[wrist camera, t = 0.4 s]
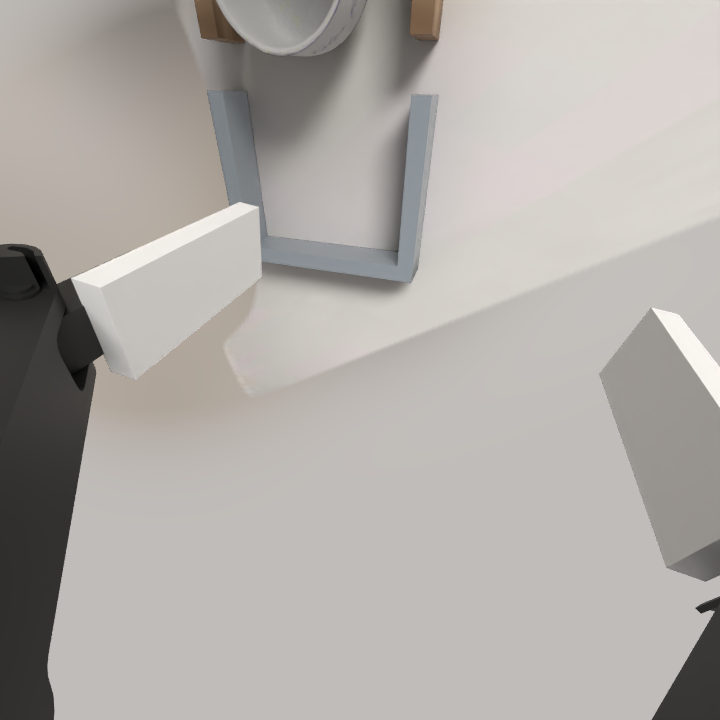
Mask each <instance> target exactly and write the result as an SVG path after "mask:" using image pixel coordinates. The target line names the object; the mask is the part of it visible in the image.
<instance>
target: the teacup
mask: <svg viewBox="0 0 720 720" xmlns="http://www.w3.org/2000/svg"><path fill="white" fill-rule="evenodd" d="M366 1H367V0H216V2H217V4H218V6H219V8H220V9H221V11H222V13H223V15H224V16H225V18H226V20H227V21H228V22H229V24H230V25H231V26H232V27H233V28H234V30H235V31H236V32H237V33H238V34H239V35H240V36H241V37H242V38H243V39H244V40H246V41H247V42H248V43H249V44H250V45H252V46H253V47H255V48H257V49H258V50H260V51H262V52H264V53H267V54H271V55H276V56H289V55H292V56H317V55H321V54H324V53H327V52H329V51H331V50H333V49H334V48H336V47H337V46H338V45H340V44H341V43H342V42H343V41H344V40H345V39H346V38H347V37H348V36H349V35H350V33H351V32H352V31H353V29H354V28H355V26H356V24H357V23H358V21H359V19H360V17H361V15H362V12H363V10H364V7H365V4H366Z"/></svg>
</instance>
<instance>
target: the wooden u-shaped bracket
mask: <svg viewBox="0 0 720 720" xmlns="http://www.w3.org/2000/svg"><path fill="white" fill-rule="evenodd" d="M194 1H195V7H196V12H197V17H198V22H199V27H200V33H201V38H204V39H210V40H215V41H221V42H226V43H244V39H243V38H242V37H241V36H240V35H239V34H238V33H237V32H236V31H235V30H234V28H233V27H232V26H231V25H230V24H229V22H228V21H227V20H226V18H225V16H224V15H223V13H222V11H221V9H220V8H219V6H218V4H217V2H216V0H194ZM442 6H443V0H412V7H411V20H410V35H411V36H413V37H414V38H416V39H418V40H439V33H440V24H441V15H442Z"/></svg>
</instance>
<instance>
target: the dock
mask: <svg viewBox="0 0 720 720" xmlns="http://www.w3.org/2000/svg"><path fill="white" fill-rule="evenodd" d="M207 94H208V99H209V104H210V109H211V114H212V119H213V124H214V129H215V134H216V139H217V144H218V149H219V154H220V159H221V164H222V170H223V174H224V179H225V185H226V189H227V195H228V200H229V205H230V206H232V205H234V204H236V203H239V202H242V203H245V204H249V205H253V206H257V207H259V219H260V242H261V262H267V263H274V264H281V265H288V266H295V267H302V268H309V269H316V270H323V271H330V272H337V273H344V274H351V275H358V276H365V277H372V278H379V279H386V280H393V281H400V282H407V283H411V282H412V280H413V278H414V276H415V273H416V271H417V269H418V262H419V254H420V246H421V237H422V229H423V220H424V212H425V204H426V195H427V187H428V179H429V170H430V162H431V153H432V145H433V137H434V128H435V120H436V112H437V103H438V95H411V105H410V117H409V130H408V142H407V154H406V166H405V178H404V191H403V203H402V215H401V227H400V239H399V252H395V251H387V250H379V249H371V248H363V247H355V246H346V245H338V244H330V243H322V242H314V241H306V240H298V239H290V238H282V237H274V236H267V229H266V222H265V215H264V209H263V202H262V195H261V188H260V181H259V174H258V167H257V160H256V153H255V146H254V139H253V132H252V125H251V118H250V111H249V104H248V97H247V91H207Z"/></svg>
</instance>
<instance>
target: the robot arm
mask: <svg viewBox="0 0 720 720" xmlns="http://www.w3.org/2000/svg"><path fill="white" fill-rule="evenodd" d="M260 278H262V264H261V242H260V219H259V207H257V206H253V205H249V204H245V203H242V202H239V203H236V204H234V205H232V206H230V207H228V208H226V209H223V210H221V211H219V212H216V213H214V214H212V215H210V216H208V217H205V218H203V219H201V220H199V221H197V222H194V223H192V224H190V225H188V226H186V227H184V228H181V229H179V230H177V231H174V232H172V233H170V234H168V235H166V236H163V237H161V238H159V239H157V240H155V241H152V242H150V243H148V244H146V245H144V246H141V247H139V248H137V249H135V250H132V251H129V252H127V253H125V254H123V255H120V256H118V257H116V258H115V259H112V260H109V261H107V262H105V263H103V264H102V265H98V266H96V267H94V268H92V269H90V270H87V271H85V272H83V273H80V274H79V275H76V276H74V277H72V278H70V279H67V280H65V281H63V282H61V283H58V284H56V282H55V280H54V278H53V276H52V273H51V271H50V269H49V267H48V264H47V262H46V260H45V258H44V256H43V254H42V252H41V250H39V249H38V248H36V247H34V246H29V245H24V244H3V245H0V720H54V698H53V692H52V689H51V685H50V682H49V678H48V671H47V663H48V654H49V647H50V642H51V636H52V630H53V624H54V619H55V613H56V607H57V601H58V595H59V589H60V583H61V577H62V572H63V565H64V560H65V554H66V548H67V542H68V536H69V530H70V525H71V519H72V513H73V507H74V501H75V495H76V489H77V483H78V478H79V472H80V466H81V460H82V454H83V448H84V441H85V436H86V430H87V425H88V419H89V413H90V407H91V401H92V395H93V389H94V383H95V378H96V369H95V366H94V364H93V361H94V360H95V359H97V358H98V357H100V356H101V355H104V357H105V359H106V362H107V364H108V366H109V369H110V371H111V372H113V373H116V374H119V375H122V376H125V377H128V378H131V379H134V380H136V379H137V378H139V377H140V376H141V375H142V374H143V373H145V372H146V371H147V370H148V369H149V368H151V367H152V366H153V365H155V364H156V363H157V362H158V361H159V360H160V359H162V358H163V357H164V356H165V355H167V354H168V353H169V352H170V351H172V350H173V349H174V348H175V347H177V346H178V345H179V344H180V343H182V342H183V341H184V340H185V339H186V338H188V337H189V336H190V335H191V334H192V333H194V332H195V331H196V330H198V329H199V328H200V327H201V326H203V325H204V324H205V323H206V322H207V321H209V320H210V319H211V318H212V317H214V316H215V315H216V314H217V313H219V312H220V311H221V310H222V309H223V308H225V307H226V306H227V305H228V304H230V303H231V302H232V301H233V300H235V299H236V298H237V297H238V296H239V295H241V294H242V293H243V292H244V291H246V290H247V289H248V288H249V287H251V286H252V285H253V284H254V283H255V282H257V281H258V280H259V279H260ZM600 378H601V380H602V384H603V386H604V389H605V392H606V395H607V398H608V401H609V404H610V407H611V409H612V412H613V415H614V418H615V421H616V424H617V427H618V430H619V433H620V435H621V438H622V441H623V444H624V447H625V449H626V452H627V455H628V458H629V461H630V464H631V467H632V470H633V473H634V476H635V479H636V481H637V484H638V487H639V490H640V493H641V496H642V499H643V502H644V505H645V507H646V510H647V513H648V516H649V519H650V522H651V524H652V527H653V530H654V533H655V536H656V539H657V542H658V545H659V547H660V551H661V553H662V556H663V559H664V562H665V565H666V568H669V569H671V570H674V571H677V572H680V573H683V574H686V575H688V576H691V577H694V578H697V579H700V580H703V581H708V580H710V579H712V578H715V577H717V576H719V575H720V367H719V366H718V365H717V363H716V362H715V361H714V359H713V358H712V357H711V356H710V354H709V353H708V352H707V350H706V349H705V348H704V347H703V345H702V344H701V343H700V341H699V340H698V339H697V338H696V336H695V335H694V334H693V332H692V331H691V330H690V329H689V327H688V326H687V325H686V324H685V322H684V321H683V320H682V318H681V317H680V316H679V315H678V314H675V313H671V312H667V311H663V310H659V309H655V308H650V310H649V311H648V312H647V314H646V315H645V316H644V317H643V319H642V320H641V321H640V323H639V324H638V325H637V326H636V328H635V329H634V330H633V331H632V333H631V334H630V335H629V337H628V338H627V339H626V340H625V342H624V343H623V344H622V345H621V347H620V348H619V349H618V351H617V352H616V353H615V354H614V356H613V357H612V358H611V359H610V361H609V362H608V363H607V365H606V366H605V367H604V368H603V370H602V371H601V372H600ZM696 609H697V610H698V611H699V612H700V613H703V612H706V611H709V610H712V611H715V613H714V614H713V616H712V618H711V620H710V621H709V623H708V624H707V626H706V628H705V630H704V631H703V633H702V635H701V636H700V638H699V640H698V641H697V643H696V645H695V647H694V648H693V650H692V652H691V653H690V655H689V657H688V659H687V660H686V662H685V664H684V665H683V667H682V669H681V671H680V672H679V674H678V676H677V677H676V679H675V681H674V683H673V684H672V686H671V688H670V689H669V691H668V693H667V695H666V696H665V698H664V700H663V702H662V703H661V705H660V707H659V708H658V710H657V712H656V713H655V715H654V717H653V718H652V720H720V597H717V598H715V599H712V600H710V601H707V602H705V603H703V604H701V605H699V606H698V607H696Z"/></svg>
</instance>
